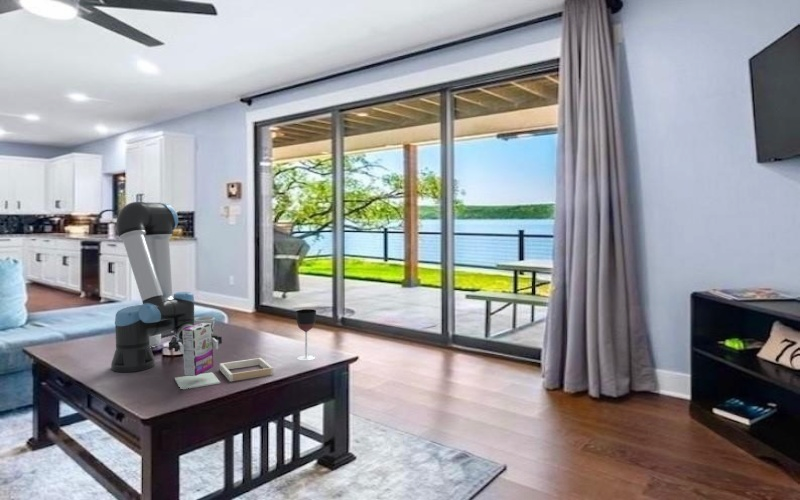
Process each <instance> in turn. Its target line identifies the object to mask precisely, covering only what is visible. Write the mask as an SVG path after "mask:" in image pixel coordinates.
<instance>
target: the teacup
mask: <svg viewBox="0 0 800 500" xmlns="http://www.w3.org/2000/svg"><path fill="white" fill-rule="evenodd" d="M161 341H162V338H161V334H159V335H155V336H151V337H149V343H150V347H152V346H157V347H158V346H159V345H160V343H161ZM152 348H153V347H152Z"/></svg>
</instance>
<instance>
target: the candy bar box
mask: <svg viewBox="0 0 800 500" xmlns="http://www.w3.org/2000/svg"><path fill="white" fill-rule="evenodd" d="M182 339H183V346H184V354H182V357H183V373H184V374H183V376H197V375H199V374H203V373H204V372H206V371H208V370H210V369H212V368H214V352H213V349H214V347H213V346H212V324H211V323H200V324H197V325H194V326H191V327H188V328H186V329H183V330H182Z"/></svg>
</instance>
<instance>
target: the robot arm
mask: <svg viewBox="0 0 800 500" xmlns="http://www.w3.org/2000/svg"><path fill="white" fill-rule="evenodd" d="M178 224H179V216H178V212H177V211H176V210H175V208H174V207H173V206H172V205H170V204H168V203H163V202H142V201H133V202H130V203H127V204H126V205H125V206H123V207H122V208H121V210H119V212H118V215H117V219H116V232H117V236H118V239H119V240H120V241H123V245H124V247H125V251H126V255H127V258H128V261H129V263H130V264H129V265H130V266H131V267H130V268H131V270H132V273H133V276H134V280H135V283H136V285H137V288H138V292H139V295H140V297H141V298H140V299H141V301H142V302H141V303H142V304H139V305H138V304H137V305H131V306H130V305H129V306H127V307H123V308H121V309H119V310H118V311H116V313H115V316H114V317H115V318H114V319H115V320H114V325H115V328H114V329H115V352H114V354H113V357H112V361H111V364H110V367H111V368H110V369H111V371H113V372H115V373H116V372H117V373H134V372H140V371H144V370H148V369H150V368H152V367H154V366H155V364H156V361H155V360H156V358H155V356H154V354H153V351H152V348H150V343H149V337H151V336H155V335H159V334H163V333H169V332H173V333H174V336H172V337H171V340H170V341H169V342H168V351H172V350H173V349H174V352H179V353H180V354H181V355H183V354H184V346H183V339H182V330H183V329H186V328H188V327H191V326H194V325H195V319H194V318H195V297H194V292H192V291H179V292H174V294H173V283H172V269H171V267H172V265H171V253H170V251H171V250H170V249H171V248H170V238H171V237H172V236H173V231H174V230H175V229H176V228H177V226H178ZM222 338H223V337H222V336H221V335H218V334H217V335H216V334H214V333H213V334H212V347H213V349H215V350H218V349H219V345H221V344H223V339H222Z"/></svg>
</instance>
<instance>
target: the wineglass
mask: <svg viewBox="0 0 800 500" xmlns="http://www.w3.org/2000/svg"><path fill="white" fill-rule="evenodd" d="M295 315H296V323H297V326H298V328H299V329H300V330H301V331H302V332H304V334H305V335H304V336H305V337H304V339H305V341H304V342H305V347H304V350H305V354H304V355H301V356H298V357H297V358H296V359H297V360H299V361H312V360H314V359H316V356H314V355H308V332H309V331H310V330H312V329H313V328H314V327H315V325H316V319H317V310H316V309H311V308H310V309H309V308H308V309H307V308H306V309H304V308H303V309H298V310H296V312H295ZM313 356H314V357H313Z"/></svg>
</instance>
